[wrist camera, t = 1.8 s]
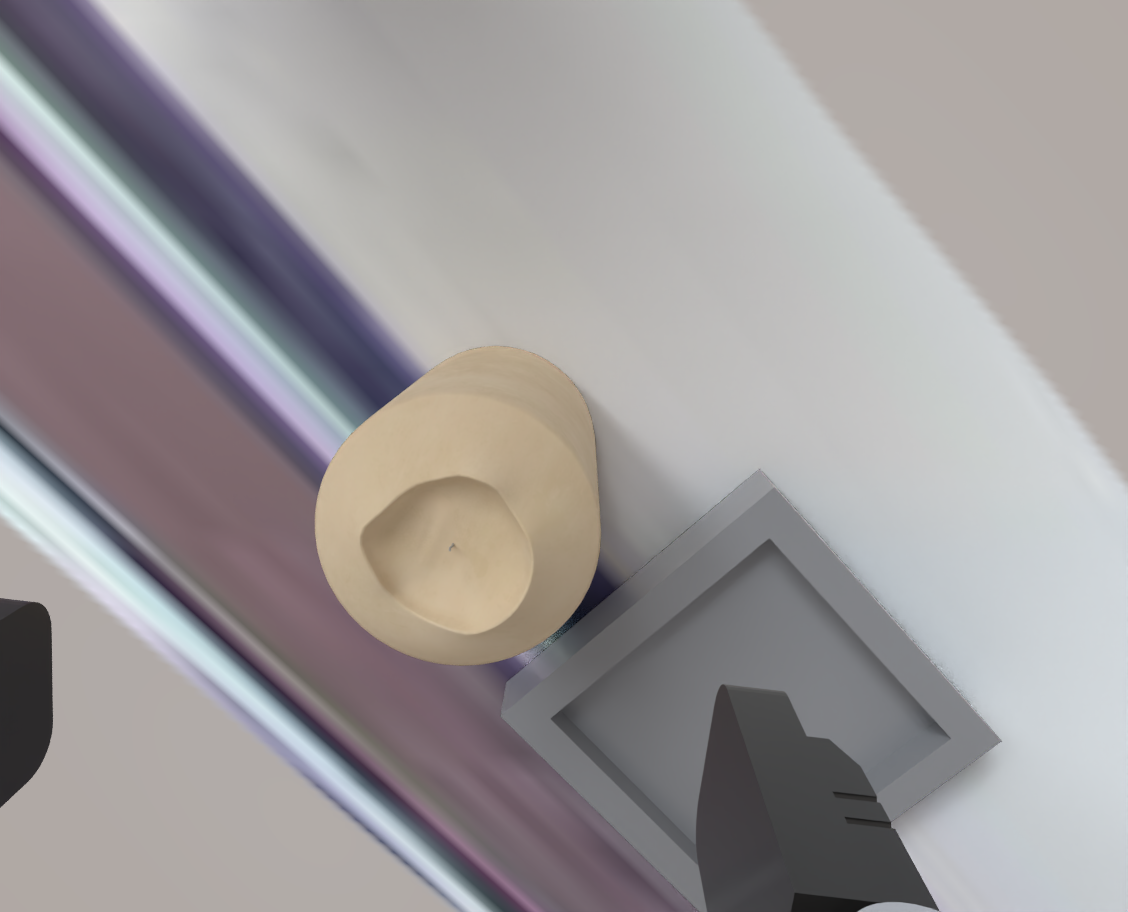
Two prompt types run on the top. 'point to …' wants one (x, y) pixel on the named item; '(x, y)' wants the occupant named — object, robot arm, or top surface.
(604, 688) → the holder
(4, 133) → the top surface
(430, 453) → the candle
